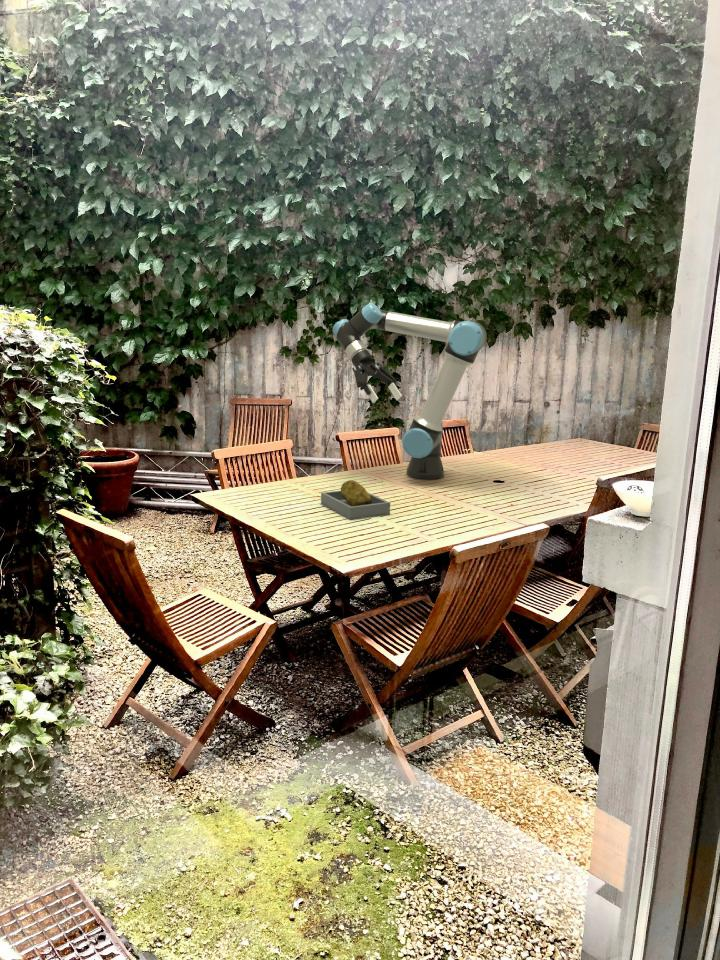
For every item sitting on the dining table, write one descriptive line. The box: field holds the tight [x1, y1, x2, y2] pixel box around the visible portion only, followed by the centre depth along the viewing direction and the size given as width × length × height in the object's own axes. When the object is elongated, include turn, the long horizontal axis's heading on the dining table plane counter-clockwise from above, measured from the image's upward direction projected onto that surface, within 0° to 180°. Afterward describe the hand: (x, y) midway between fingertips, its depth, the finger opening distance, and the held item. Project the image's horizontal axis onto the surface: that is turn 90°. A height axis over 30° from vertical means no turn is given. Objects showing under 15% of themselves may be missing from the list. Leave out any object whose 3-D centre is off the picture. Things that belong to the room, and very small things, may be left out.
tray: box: [320, 490, 391, 521], centre depth 235 cm, size 20×15×4 cm
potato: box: [340, 480, 372, 507], centre depth 234 cm, size 8×13×8 cm, turn 19°
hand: (387, 399), depth 261 cm, fingers open, 13 cm apart
